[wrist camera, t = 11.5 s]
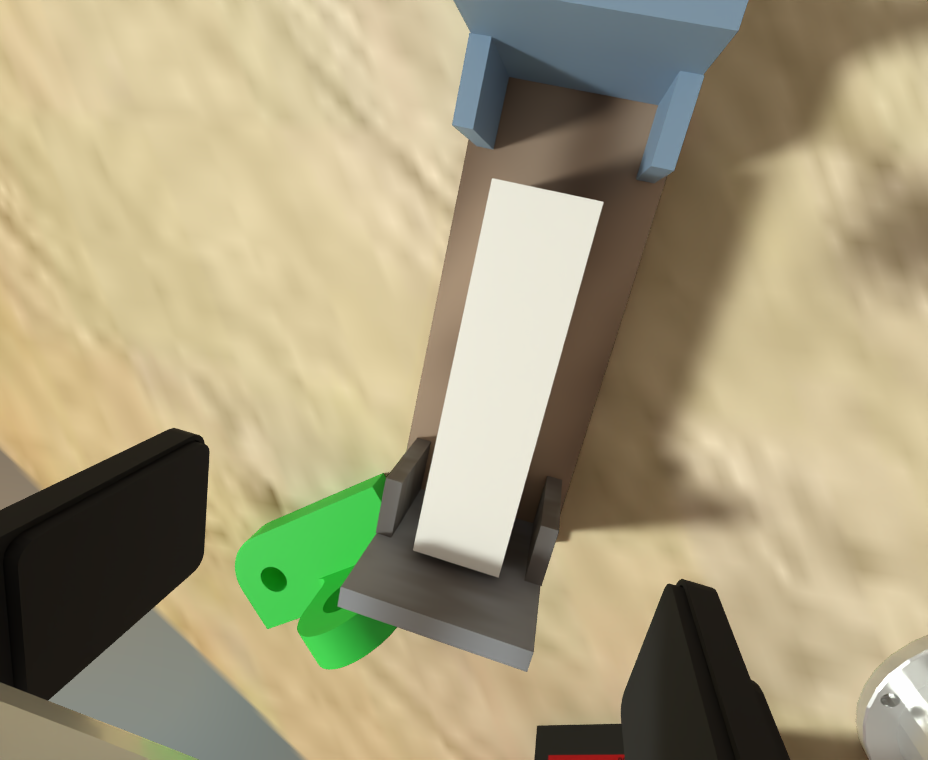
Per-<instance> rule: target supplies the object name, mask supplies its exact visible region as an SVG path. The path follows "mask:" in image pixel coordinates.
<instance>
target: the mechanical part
mask: <svg viewBox="0 0 928 760" xmlns="http://www.w3.org/2000/svg"><path fill="white" fill-rule="evenodd" d="M385 480H386V477H385V475H384V473H382V474H380V475H378V476H375V477H373V478H371V479H368V480H366V481H364V482H361V483H359V484H357V485H354V486H352V487H350V488H348V489H345V490H343V491H341V492H338V493H336V494H334V495H331V496H329V497H327V498H324V499H322V500H320V501H317V502H315V503H313V504H311V505H308V506H306V507H304V508H301V509H299V510H297V511H294V512H292V513H290V514H287V515H285V516H283V517H280V518H278V519H276V520H274V521H271V522H269V523H267V524H265V525H264V526H262V527H261V528H260V529H259V530H258V531H257V532H256V533H255V534H254V535H253V536H252V537H251V538H250V539H248V540H247V541H246V542H245V543H244V544H243V545H242V547H241V548H240V549H239V551H238V553H237V556H236V561H235V572H236V577H237V580H238V583H239V585H240V587H241V589H242V590H243V592H244V594H245V595H246V597H247V598H248V600H249V601H250V603H251V604H252V606H253V607H254V609H255V611H256V612H257V614H258V615H259V617H260V618H261V620H262V621H263V623H264V625H265V626H266V628H267V629H269V628H272V627H275V626H278V625H281V624H284V623H286V622H289V621H292V620H295V619H298V618H300V620H299V622H298V626H297V630H298V633H299V635H300V636H301V638H302V639H303V641H304V642H305V644H306V646H307V647H308V649H309V650H310V652H311V653H312V655H313V657H314V658H315V660H316V661H317V663H318V664H319V666H320V667H322V668H324V669H338V668H342V667H345V666H347V665H349V664H352V663H354V662H356V661H357V660H359V659H361V658H363V657H364V656H366V655H367V654H369V653H370V652H371V651H373V650H374V649H375V648H377V647H378V646H379V645H380V644H381V643H383V642H384V641H385V640H386V639H387V638H388V637H389V636H390V635H391V634H392V633H393V631H394V630H395V629H396V628H397V627H396V626H393V625H390V624H387V623H384V622H381V621H378V620H375V619H372V618H369V617H367V616H364V615H361V614H358V613H355V612H352V611H349V610H346V609H343V608H341V607H338V600H339V594H340V588H341V586H342V584H343V583H344V581H345V580H346V578H347V577H348V575H349V574H350V572H351V571H352V569H353V568H354V566H355V565H356V563H357V562H358V560H359V559H360V557H361V556H362V554H363V553H364V551H365V550H366V548H367V547H368V545H369V544H370V542H371V541H372V539H373V538H374V536H375V535H376V528H377V523H378V517H379V512H380V507H381V501H382V496H383V491H384V486H385Z"/></svg>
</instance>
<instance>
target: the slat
mask: <svg viewBox="0 0 928 760" xmlns="http://www.w3.org/2000/svg"><path fill="white" fill-rule="evenodd" d="M602 206H603V202H602V201H597V200H592V199H588V198H583V197H578V196H574V195H569V194H564V193H560V192H555V191H550V190H546V189H541V188H536V187H531V186H527V185H522V184H517V183H513V182H508V181H503V180H499V179H494V178H492V181H491V186H490V190H489V195H488V200H487V204H486V209H485V214H484V218H483V223H482V228H481V233H480V237H479V242H478V247H477V251H476V256H475V261H474V265H473V270H472V275H471V279H470V284H469V289H468V294H467V298H466V303H465V308H464V312H463V317H462V322H461V326H460V331H459V336H458V340H457V345H456V350H455V355H454V359H453V364H452V369H451V373H450V378H449V383H448V387H447V392H446V397H445V402H444V406H443V411H442V416H441V420H440V425H439V430H438V434H437V439H436V444H435V448H434V453H433V458H432V463H431V467H430V472H429V477H428V481H427V486H426V491H425V495H424V500H423V505H422V509H421V514H420V519H419V524H418V528H417V533H416V538H415V542H414V547H413V551H416V552H420V553H423V554H426V555H429V556H432V557H435V558H438V559H442V560H445V561H448V562H451V563H454V564H457V565H460V566H463V567H467V568H470V569H473V570H476V571H479V572H482V573H485V574H489V575H492V576H495V577H498V578H499V574H500V571H501V567H502V564H503V560H504V556H505V553H506V549H507V546H508V542H509V539H510V535H511V531H512V528H513V524H514V521H515V517H516V514H517V510H518V506H519V503H520V499H521V496H522V492H523V489H524V485H525V481H526V478H527V474H528V471H529V467H530V463H531V460H532V456H533V453H534V449H535V446H536V442H537V438H538V435H539V431H540V428H541V424H542V421H543V417H544V413H545V410H546V406H547V403H548V399H549V396H550V392H551V388H552V385H553V381H554V378H555V374H556V370H557V367H558V363H559V360H560V356H561V353H562V349H563V345H564V342H565V338H566V335H567V331H568V328H569V324H570V320H571V317H572V313H573V310H574V306H575V303H576V299H577V295H578V292H579V288H580V285H581V281H582V277H583V274H584V270H585V267H586V263H587V260H588V256H589V252H590V249H591V245H592V242H593V238H594V235H595V231H596V227H597V224H598V220H599V217H600V213H601V210H602Z"/></svg>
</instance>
